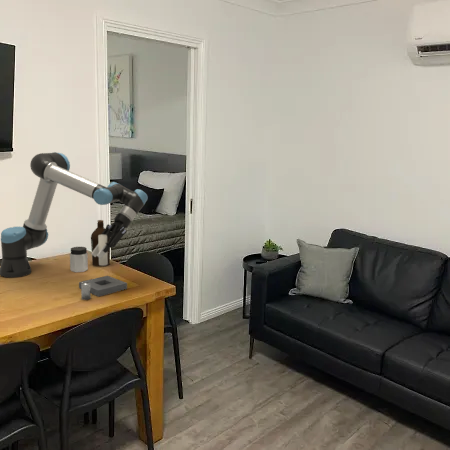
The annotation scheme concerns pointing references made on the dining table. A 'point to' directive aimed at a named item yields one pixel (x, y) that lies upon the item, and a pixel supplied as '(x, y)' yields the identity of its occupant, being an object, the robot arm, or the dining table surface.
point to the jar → (78, 259)
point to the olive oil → (94, 243)
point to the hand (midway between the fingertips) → (96, 256)
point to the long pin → (101, 242)
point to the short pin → (85, 290)
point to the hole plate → (105, 285)
